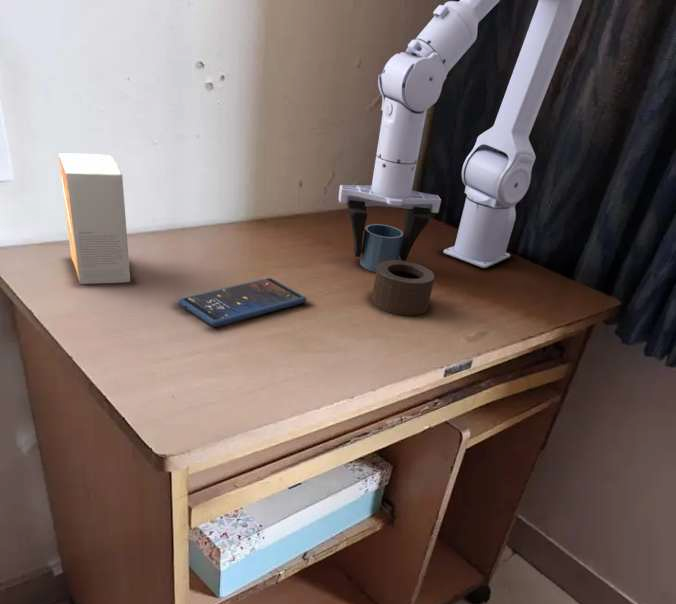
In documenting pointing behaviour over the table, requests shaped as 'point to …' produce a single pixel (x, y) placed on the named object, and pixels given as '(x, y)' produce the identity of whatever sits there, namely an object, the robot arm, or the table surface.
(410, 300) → the brown short cylinder
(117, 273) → the small box
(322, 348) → the table surface
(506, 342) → the table surface
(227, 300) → the smartphone
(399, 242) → the cup
